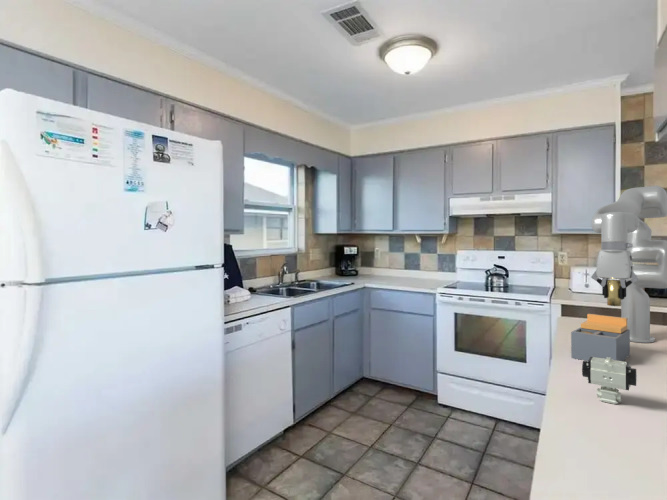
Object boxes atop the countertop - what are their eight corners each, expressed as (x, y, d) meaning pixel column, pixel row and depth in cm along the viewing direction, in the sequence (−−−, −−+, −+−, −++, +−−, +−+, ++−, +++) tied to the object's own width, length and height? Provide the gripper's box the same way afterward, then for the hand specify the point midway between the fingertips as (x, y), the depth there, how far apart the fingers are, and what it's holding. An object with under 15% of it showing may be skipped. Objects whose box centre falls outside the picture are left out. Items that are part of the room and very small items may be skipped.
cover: (588, 323, 151) (588, 313, 151) (627, 328, 142) (627, 318, 142) (580, 327, 145) (580, 317, 145) (620, 333, 136) (620, 322, 136)
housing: (587, 347, 152) (587, 323, 152) (629, 355, 142) (629, 329, 142) (571, 357, 141) (571, 332, 141) (616, 366, 131) (616, 338, 130)
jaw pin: (609, 304, 140) (609, 279, 140) (622, 305, 137) (622, 280, 137) (605, 305, 137) (605, 280, 137) (619, 306, 134) (619, 280, 134)
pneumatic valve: (584, 393, 110) (584, 351, 110) (636, 403, 103) (636, 359, 102) (581, 399, 106) (581, 356, 105) (635, 411, 98) (635, 364, 98)
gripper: (646, 246, 133) (646, 299, 133) (590, 246, 146) (590, 295, 146) (641, 247, 128) (641, 301, 128) (583, 247, 141) (583, 297, 141)
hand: (614, 297), depth 137 cm, fingers closed on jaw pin, 4 cm apart
